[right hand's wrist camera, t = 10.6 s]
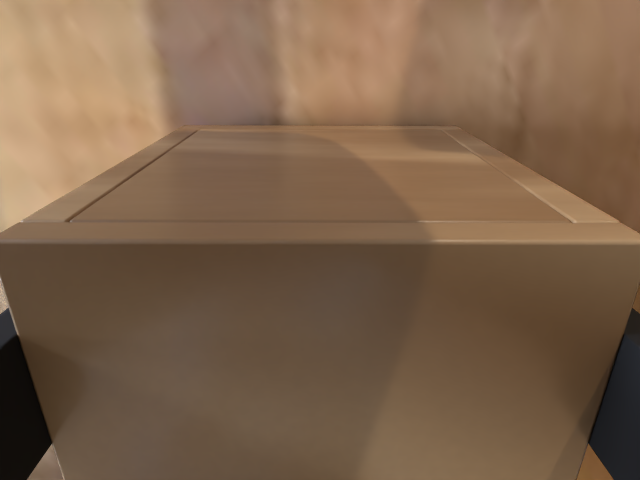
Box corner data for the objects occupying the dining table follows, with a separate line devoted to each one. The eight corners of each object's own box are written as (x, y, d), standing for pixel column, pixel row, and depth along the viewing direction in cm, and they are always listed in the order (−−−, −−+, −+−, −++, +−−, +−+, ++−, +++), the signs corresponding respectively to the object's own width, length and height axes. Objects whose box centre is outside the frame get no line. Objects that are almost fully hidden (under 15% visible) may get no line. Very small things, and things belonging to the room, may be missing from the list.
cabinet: (415, 474, 26) (481, 775, 15) (223, 474, 26) (156, 775, 15) (457, 125, 18) (656, 240, 7) (182, 125, 18) (-16, 240, 7)
